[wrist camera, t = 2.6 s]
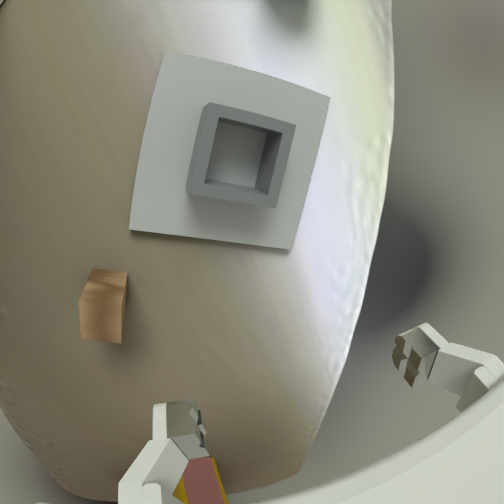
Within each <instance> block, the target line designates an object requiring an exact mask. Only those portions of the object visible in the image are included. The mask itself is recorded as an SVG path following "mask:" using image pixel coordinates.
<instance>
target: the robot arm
mask: <svg viewBox="0 0 504 504" xmlns="http://www.w3.org/2000/svg"><path fill="white" fill-rule="evenodd" d="M3 1H4V0H0V5H1V4H2V2H3ZM395 344H396V345H397V346H396V347H395V348H394V350H393V354H392V358H393V362H394V364H395V367H396V368H397V369H398V370H399V371H401V372H404V378H405V380H406V381H407V382H408V383H409V385H410V386H411V387H414V386H416V385H418V384H420V383H422V382H424V381H426V380H428V381H429V382H431V383H433V384H435V385H438V386H440V387H442V388H444V389H446V390H448V391H450V392H452V393H455V394H457V395H459V396H461V398H460V400H459V402H458V403H457V406H456V408H457V409H458V410H459V412H460V413H459V414H458V415H456V416H455V417H453V418H452V419H450V420H449V421H447V422H446V423H444V424H443V425H441V426H440V427H438V428H437V429H435V430H433V431H432V432H430V433H429V434H427V435H425V436H424V437H422V438H420V439H418V440H417V441H415V442H413V443H411V444H410V445H408V446H406V447H404V448H402V449H400V450H398V451H397V452H395V453H393V454H391V455H389V456H387V457H385V458H383V459H381V460H378V461H376V462H374V463H372V464H370V465H368V466H366V467H363V468H361V469H358V470H356V471H354V472H351V473H349V474H346V475H344V476H341V477H339V478H336V479H333V480H331V481H328V482H325V483H322V484H319V485H316V486H313V487H310V488H307V489H304V490H300V491H297V492H294V493H290V494H286V495H283V496H279V497H275V498H271V499H267V500H262V501H258V502H253V503H248V504H504V364H503V363H502V362H501V361H500V360H499V359H498V358H497V357H496V356H495V355H493V354H489V353H486V352H483V351H479V350H476V349H472V348H469V347H465V346H461V345H458V344H454V343H450V344H449V343H448V342H447V341H446V340H445V339H444V338H443V337H441V335H440V334H439V333H438V332H437V331H436V330H435V329H433V328H432V327H431V326H430V325H429V324H428V323H424V324H422V325H419V326H418V327H415V328H413V329H411V330H408V331H406V332H404V333H402V334H400V335H398V336H397V337H396V339H395ZM206 432H207V431H206V425H205V421H204V418H203V415H202V413H201V411H200V410H198V409H197V403H196V402H195V400H194V399H188V400H181V401H174V402H167V403H160V404H154V407H153V440H149V441H148V443H147V444H146V445H145V447H144V448H143V450H142V451H141V452H140V454H139V455H138V457H137V458H136V459H135V461H134V462H133V464H132V465H131V466H130V468H129V469H128V471H127V472H126V473H125V475H124V476H123V478H122V479H121V480H120V482H119V487H118V504H184V503H183V502H181V501H180V500H178V499H177V498H176V497H174V496H173V495H172V494H173V492H174V490H175V488H176V486H177V484H178V482H179V480H180V478H181V476H182V474H183V472H184V470H185V468H186V466H187V464H188V462H189V459H195V458H201V457H206V456H210V452H209V445H208V441H207V439H206V438H205V436H204V435H205V434H206ZM37 504H50V503H44V502H39V503H37Z"/></svg>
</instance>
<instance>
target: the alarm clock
mask: <svg viewBox="0 0 504 504" xmlns="http://www.w3.org/2000/svg"><path fill="white" fill-rule="evenodd" d="M172 495H173V496H174V497H176V498H177V499H178V500H180V501H181V502H183V503H184V504H228V501H227V498H226V495H225V492H224V489H223V486H222V483H221V479H220V476H219V473H218V469H217V466H216V463H215V459H214V458H195V459H189V462H188V464H187V466H186V468H185V470H184V472H183V474H182V476H181V478H180V480H179V482H178V484H177V486H176V488H175V490H174V492H173V494H172Z"/></svg>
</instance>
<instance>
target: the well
mask: <svg viewBox="0 0 504 504" xmlns="http://www.w3.org/2000/svg"><path fill="white" fill-rule="evenodd" d="M329 101H330V97H327V96H325V95H322V94H320V93H317V92H315V91H312V90H310V89H307V88H304V87H301V86H299V85H296V84H293V83H290V82H287V81H284V80H281V79H278V78H275V77H272V76H269V75H266V74H263V73H259V72H256V71H252V70H249V69H245V68H242V67H238V66H234V65H230V64H226V63H222V62H218V61H213V60H209V59H204V58H200V57H195V56H189V55H184V54H178V53H172V52H166V51H165V54H164V57H163V60H162V64H161V67H160V71H159V74H158V78H157V81H156V85H155V89H154V93H153V96H152V100H151V104H150V109H149V113H148V117H147V122H146V126H145V131H144V135H143V140H142V145H141V150H140V156H139V161H138V167H137V173H136V179H135V185H134V192H133V199H132V207H131V215H130V223H129V229H130V230H138V231H146V232H155V233H163V234H171V235H179V236H187V237H195V238H203V239H211V240H219V241H227V242H235V243H243V244H251V245H258V246H266V247H274V248H282V249H289V250H291V249H292V246H293V242H294V239H295V235H296V232H297V228H298V224H299V221H300V217H301V213H302V209H303V206H304V202H305V198H306V194H307V191H308V187H309V183H310V179H311V175H312V171H313V167H314V163H315V159H316V155H317V151H318V147H319V143H320V139H321V135H322V131H323V126H324V122H325V118H326V114H327V109H328V105H329Z"/></svg>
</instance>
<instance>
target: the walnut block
mask: <svg viewBox="0 0 504 504" xmlns="http://www.w3.org/2000/svg"><path fill="white" fill-rule="evenodd" d="M127 275H128V273H127V272H118V271H110V270H101V269H92V271H91V273H90V276H89V278H88V280H87V283H86V285H85V288H84V290H83V293H82V295H81V297H80V300H79V317H80V329H81V339H88V340H96V341H105V342H113V343H122V333H123V324H124V316H125V308H126V293H127Z"/></svg>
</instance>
